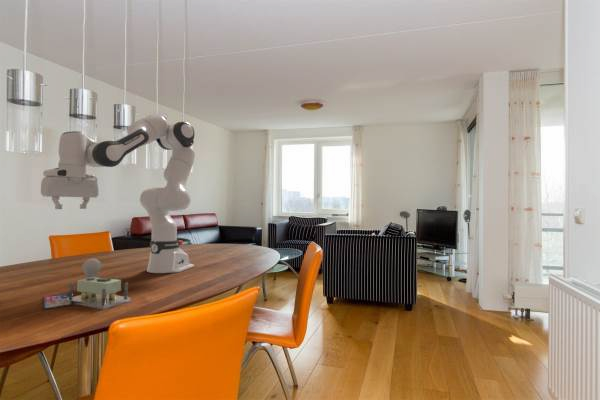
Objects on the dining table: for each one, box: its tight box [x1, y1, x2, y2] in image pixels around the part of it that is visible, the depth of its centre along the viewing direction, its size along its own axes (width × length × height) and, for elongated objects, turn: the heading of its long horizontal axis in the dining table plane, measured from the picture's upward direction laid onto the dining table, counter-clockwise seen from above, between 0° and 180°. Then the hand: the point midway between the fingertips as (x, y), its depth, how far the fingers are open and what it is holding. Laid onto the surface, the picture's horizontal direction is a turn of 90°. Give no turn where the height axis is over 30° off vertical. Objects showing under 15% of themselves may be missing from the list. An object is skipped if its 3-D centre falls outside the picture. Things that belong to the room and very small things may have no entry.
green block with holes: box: [76, 276, 122, 295], centre depth 110 cm, size 6×12×4 cm, turn 74°
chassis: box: [66, 282, 132, 310], centre depth 110 cm, size 10×17×6 cm, turn 68°
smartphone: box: [41, 293, 74, 311], centre depth 109 cm, size 8×1×15 cm
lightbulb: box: [81, 258, 102, 279], centre depth 126 cm, size 6×6×11 cm
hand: (71, 209), depth 130 cm, fingers open, 8 cm apart
